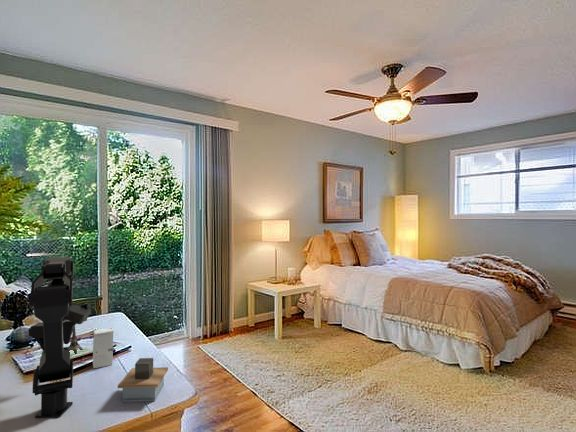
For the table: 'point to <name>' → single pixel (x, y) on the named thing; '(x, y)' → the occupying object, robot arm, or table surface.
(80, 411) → the table surface
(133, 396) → the grey open-top tray
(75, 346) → the eiffel tower figurine
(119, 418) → the table surface
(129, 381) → the lid
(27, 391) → the table surface
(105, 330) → the skincare box
